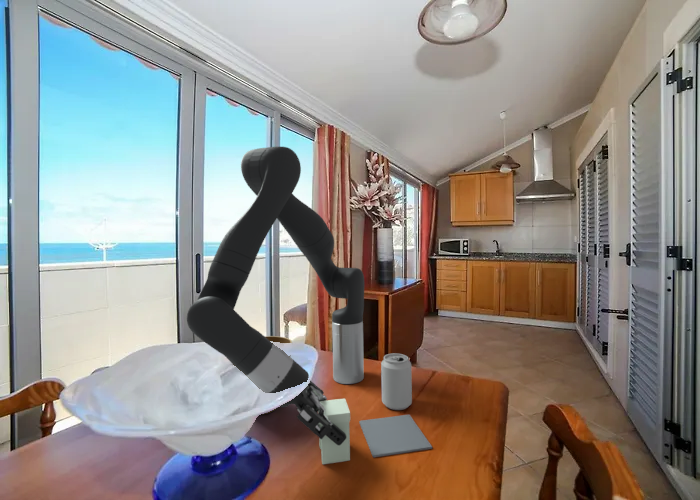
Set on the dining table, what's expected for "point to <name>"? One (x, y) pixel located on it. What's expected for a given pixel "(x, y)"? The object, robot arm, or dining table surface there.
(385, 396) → the can
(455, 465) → the dining table surface
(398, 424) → the mat
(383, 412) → the dining table surface
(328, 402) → the pale green upright block
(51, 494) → the dining table surface
